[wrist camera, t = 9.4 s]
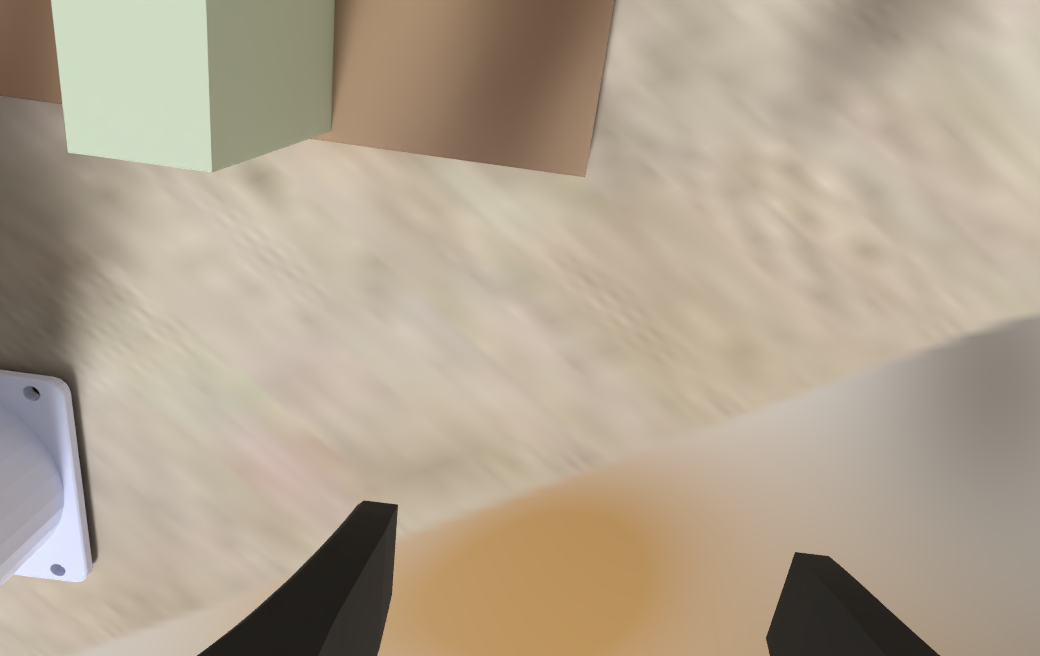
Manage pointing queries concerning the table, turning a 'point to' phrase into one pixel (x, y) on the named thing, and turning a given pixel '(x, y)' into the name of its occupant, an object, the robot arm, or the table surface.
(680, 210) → the table surface
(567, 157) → the slotted base
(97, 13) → the sage plate
